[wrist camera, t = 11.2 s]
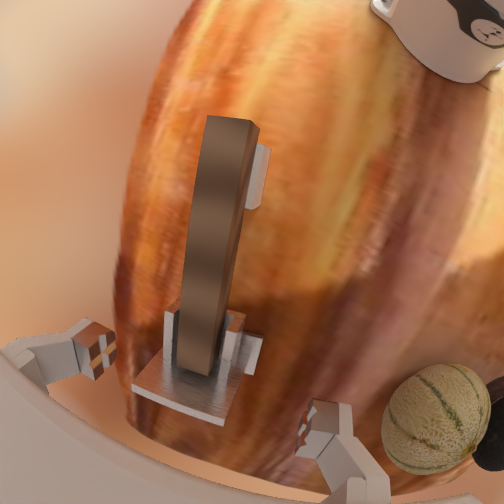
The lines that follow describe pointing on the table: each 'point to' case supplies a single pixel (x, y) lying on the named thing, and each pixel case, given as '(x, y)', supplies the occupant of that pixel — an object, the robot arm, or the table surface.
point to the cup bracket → (195, 384)
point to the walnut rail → (214, 238)
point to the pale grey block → (258, 176)
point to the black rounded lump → (493, 431)
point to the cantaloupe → (435, 419)
